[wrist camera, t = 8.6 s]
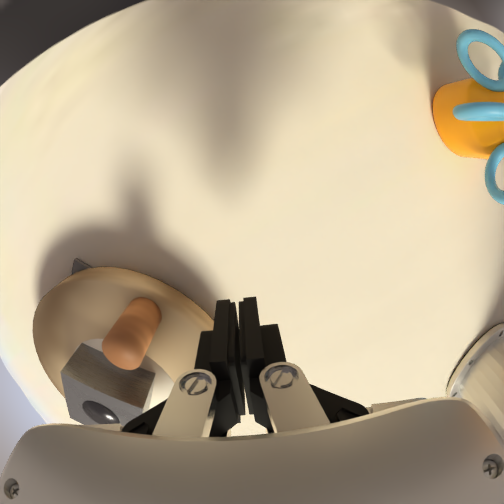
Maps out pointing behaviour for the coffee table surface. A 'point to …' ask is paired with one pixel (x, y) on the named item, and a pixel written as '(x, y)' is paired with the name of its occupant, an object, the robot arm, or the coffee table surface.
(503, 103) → the cylinder
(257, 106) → the coffee table surface
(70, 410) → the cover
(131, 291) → the turntable
